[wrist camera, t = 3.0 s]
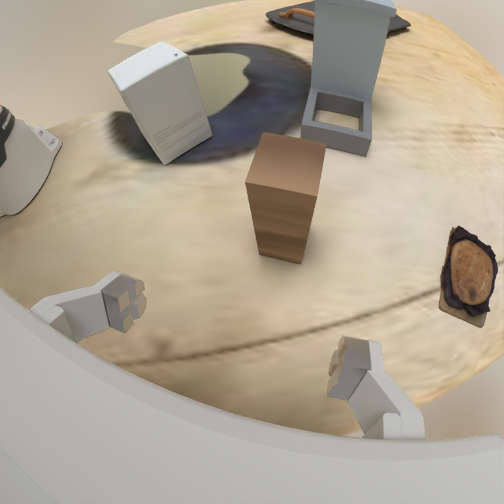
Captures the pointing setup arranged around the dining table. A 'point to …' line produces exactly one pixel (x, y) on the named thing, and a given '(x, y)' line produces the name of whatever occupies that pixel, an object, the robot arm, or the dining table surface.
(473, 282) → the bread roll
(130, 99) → the supplement box
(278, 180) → the walnut block
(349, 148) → the pale blue tower
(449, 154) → the dining table surface
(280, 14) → the serving board
